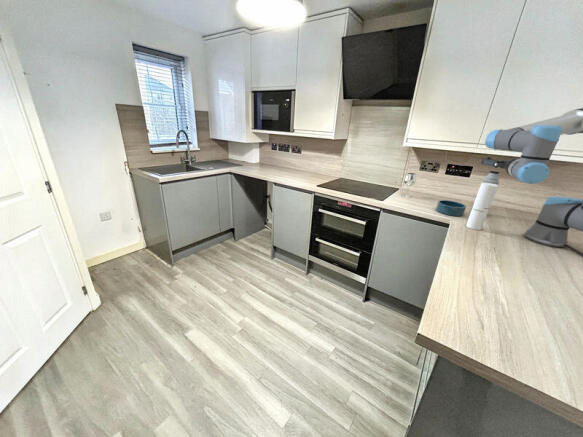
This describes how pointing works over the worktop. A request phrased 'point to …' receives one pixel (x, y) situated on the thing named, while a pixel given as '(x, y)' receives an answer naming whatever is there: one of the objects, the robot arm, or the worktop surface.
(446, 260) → the worktop surface
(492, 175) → the thermos bottle
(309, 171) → the worktop surface
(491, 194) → the cylindrical container
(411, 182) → the wineglass
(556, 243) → the robot arm
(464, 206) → the bowl
